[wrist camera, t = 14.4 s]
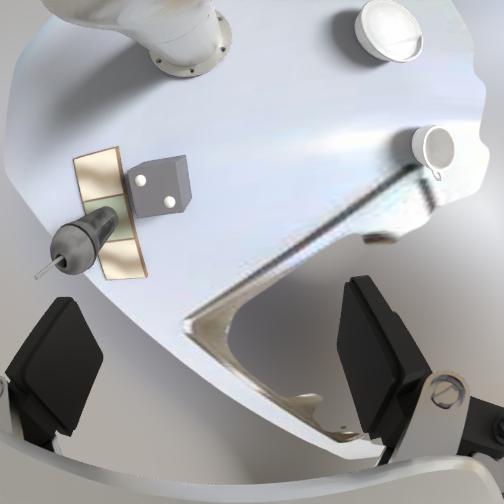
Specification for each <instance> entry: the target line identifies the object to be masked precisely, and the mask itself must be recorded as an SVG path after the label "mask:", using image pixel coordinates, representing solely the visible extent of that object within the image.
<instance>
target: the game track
mask: <svg viewBox="0 0 504 504" xmlns="http://www.w3.org/2000/svg"><path fill="white" fill-rule="evenodd" d="M73 161H74V166H75V171H76V176H77V181H78V185H79V190H80V194H81V198H82V202H83V206H84V210H85V214H86V215H87V214H89V213H91V212H93V211H95V210H97V209H99V208H101V207H104V206H108V207H111V208H113V209H114V210H115V211H116V213H117V215H118V219H119V221H118V225H117V227H116V228H115V230H114V232H113V233H112V234H111V236H110V237H109V239H108V240H107V241H106V243H105V244H104V245H103V247H102V248H101V250H100V251H99V253H98V257H99V260H100V263H101V266H102V269H103V272H104V274H105V277H106V280H117V279H132V278H147V276H148V273H147V270H146V266H145V263H144V259H143V256H142V252H141V248H140V245H139V241H138V237H137V233H136V229H135V225H134V221H133V217H132V213H131V208H130V204H129V199H128V195H127V190H126V185H125V180H124V175H123V169H122V164H121V158H120V152H119V146H117V147H113V148H109V149H105V150H101V151H98V152H94V153H90V154H87V155H83V156H80V157H77V158H74V159H73Z"/></svg>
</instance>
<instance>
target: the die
mask: <svg viewBox="0 0 504 504" xmlns="http://www.w3.org/2000/svg"><path fill="white" fill-rule="evenodd" d="M127 172H128V177H129V182H130V187H131V192H132V197H133V202H134V206H135V211H136V215H137V218H142V217H150V216H157V215H165V214H173V213H181V212H184V210H185V209H186V207H187V205H188V204H189V202H190V200H191V199H192V194H191V188H190V181H189V174H188V167H187V160H186V155H182V156H176V157H170V158H164V159H158V160H152V161H147V162H143V163H141V164H139V165H137V166H135V167H133V168H132V169H130V170H128V171H127Z"/></svg>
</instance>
